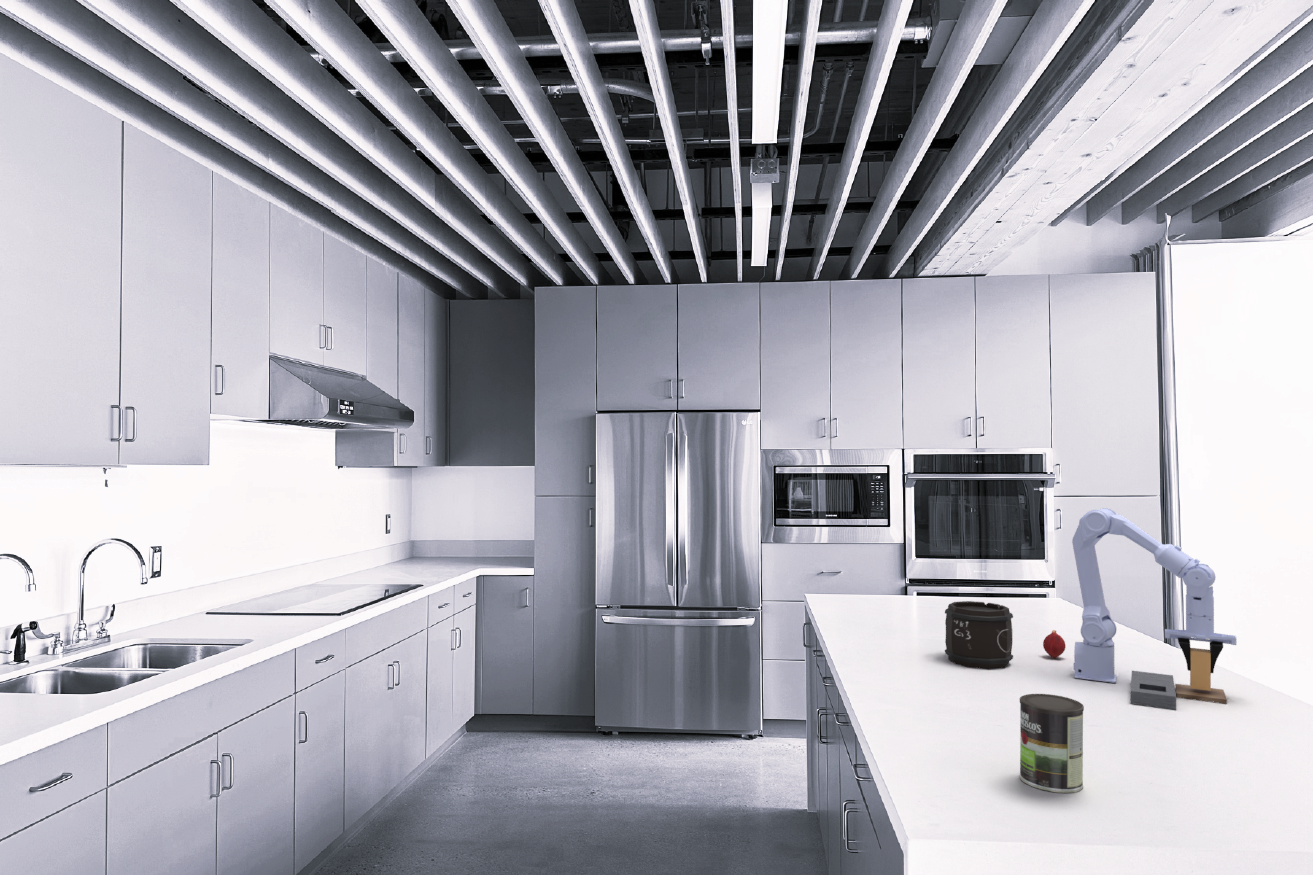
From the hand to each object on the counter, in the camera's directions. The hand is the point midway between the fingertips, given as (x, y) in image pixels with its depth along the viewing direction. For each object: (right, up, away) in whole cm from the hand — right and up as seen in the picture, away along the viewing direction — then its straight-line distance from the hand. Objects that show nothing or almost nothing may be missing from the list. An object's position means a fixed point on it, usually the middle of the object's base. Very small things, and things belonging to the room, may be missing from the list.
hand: (1200, 670), depth 203 cm
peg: (0, -4, 0) cm, 4 cm away
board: (0, -6, 0) cm, 6 cm away
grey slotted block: (-12, -6, 0) cm, 13 cm away
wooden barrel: (-41, -7, +32) cm, 53 cm away
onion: (-18, -7, +37) cm, 41 cm away
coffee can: (-62, -4, -55) cm, 83 cm away
